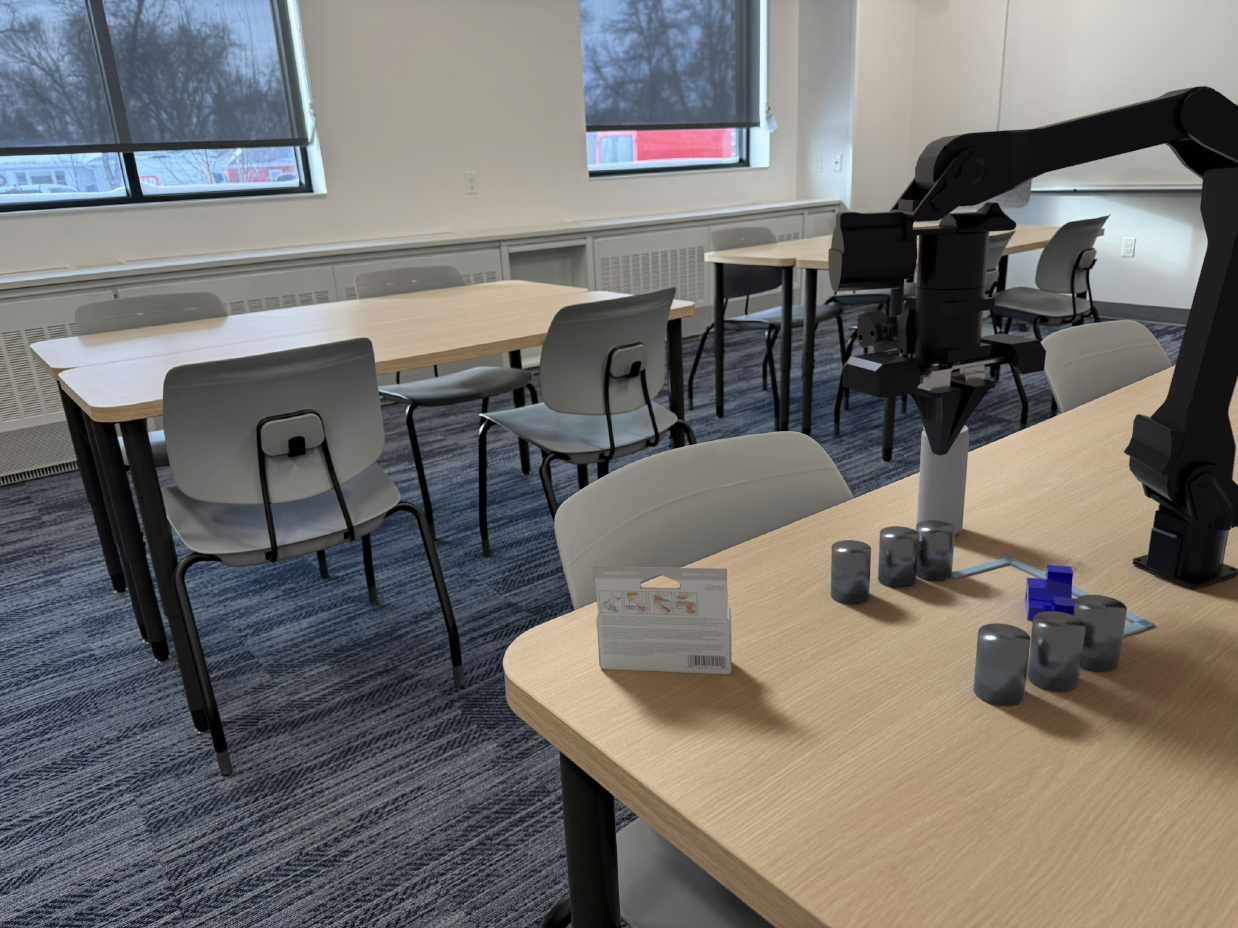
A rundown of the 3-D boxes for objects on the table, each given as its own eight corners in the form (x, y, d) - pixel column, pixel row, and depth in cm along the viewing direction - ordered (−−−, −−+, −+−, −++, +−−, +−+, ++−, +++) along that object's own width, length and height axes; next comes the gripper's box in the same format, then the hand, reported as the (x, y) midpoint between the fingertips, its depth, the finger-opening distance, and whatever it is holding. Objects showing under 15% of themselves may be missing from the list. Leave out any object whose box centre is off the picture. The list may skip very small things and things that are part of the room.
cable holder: (1024, 601, 79) (1028, 562, 78) (1066, 606, 78) (1071, 566, 77) (1030, 644, 72) (1034, 602, 71) (1076, 650, 71) (1082, 607, 70)
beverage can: (965, 539, 93) (973, 434, 89) (919, 538, 94) (925, 433, 90) (958, 522, 97) (965, 421, 93) (913, 522, 98) (919, 421, 94)
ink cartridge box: (604, 656, 74) (597, 553, 71) (732, 661, 72) (730, 555, 69) (599, 671, 72) (591, 566, 69) (731, 677, 70) (729, 569, 67)
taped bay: (1009, 558, 88) (1009, 556, 88) (1154, 626, 74) (1154, 623, 74) (947, 574, 85) (947, 572, 85) (1086, 648, 71) (1086, 646, 71)
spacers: (930, 560, 88) (933, 516, 87) (1135, 668, 68) (1143, 611, 66) (820, 589, 84) (820, 542, 82) (1003, 714, 63) (1009, 655, 62)
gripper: (965, 270, 86) (955, 420, 91) (808, 288, 79) (806, 448, 84) (1058, 278, 76) (1040, 446, 81) (887, 300, 69) (879, 480, 74)
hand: (939, 454), depth 80 cm, fingers closed
